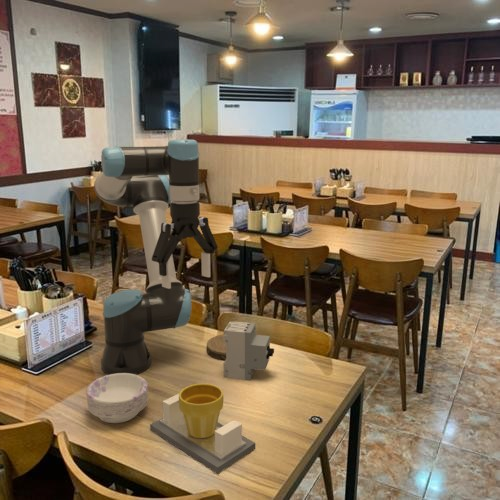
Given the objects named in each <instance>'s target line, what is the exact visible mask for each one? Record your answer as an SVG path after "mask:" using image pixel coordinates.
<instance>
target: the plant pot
mask: <svg viewBox="0 0 500 500" xmlns="http://www.w3.org/2000/svg"><path fill="white" fill-rule="evenodd" d="M178 394H179V408H180V410H181V412H182V413H183V415H184V419H185V423H186V426H187V430H188V433H189V434H190V435H191V436H192V437H195V438H207V437H210V436H212V435H213V434H214V433H215V431H216V427H217V422H218V423H219V417H220V412H221V410H222V409H223V408H224V391H223V390H222V388H221V387H219V386H217V385H215V384H212V383H194V384H189V385H188V386H186V387H184V388H182V389H181V390H180V392H179V393H178Z"/></svg>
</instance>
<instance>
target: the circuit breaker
mask: <svg viewBox="0 0 500 500" xmlns="http://www.w3.org/2000/svg"><path fill="white" fill-rule="evenodd" d="M223 334H224V335H223V344H226V360H225V361H223V365H222V366H223V367H222V368H223V378H224V379H225V378H227V379H231V380H232V379H234V380H243V381H251V380H252V378H253V375H254V373H255V371H256V370H262V371H265V370H267V368H268V367H267V366H268V364H269V362H270V360H271V359H270V357H273V355H274V354H275V353H274V352H275V348H271V345H270V344H271V337H270V335H261V334H257V331H256V322H245V321H244V322H243V321H229V322H228V324H227V325H226V327H225V328H224V330H223Z"/></svg>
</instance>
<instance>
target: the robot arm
mask: <svg viewBox="0 0 500 500" xmlns="http://www.w3.org/2000/svg"><path fill="white" fill-rule="evenodd" d="M100 157H101V159H100V160H101V168H102V169H101V170H102V171H101V172H100V173H99V174H97V176H96V178H95V180H94V185H93V187H94V188H93V189H94V192H95V194H96V196H97V197H98V198H99V199H100V200H101V201H103V202H104V203H106V204H108V205H111V206H115V207H120V208H121V207H122V208H124V207H132V210H133V213H134V214H136V215H137V216H138V219H139V224H140V230H141V236H142V237H141V238H142V245H143V250H144V255H145V263H146V269H147V274H148V281H149V284H148V286H147V287H146V288H145V293H144V294H143V293H142V291H141V290H139V289H135V288H134V289H125V290H124V289H123V290H119V291H116V292H113V293H111V294H110V295H108V296H107V297H105V299H104V300H103V305H102V306H103V307H102V308H103V309H102V311H103V312H102V316H103V323H104V324H103V325H104V341H105V345H104V349H103V353H102V356H101V359H100V360H101V361H100V367H101V371H102V372H103V373H104V374H106V375H110V374H116V373H130V374H135V375H138V374H141V373H144V371H146V370H148V369H149V368H150V367H151V365H152V358H151V357H152V356H151V353H150V351H149V348H148V347H147V344H146V341H145V333H147V332H149V333H150V332H155V331H163V330H168V329H176V328H180V327H185V326H186V325H188V323H189V322H190V318H191V315H192V295H191V292H190V290H189V289H188V288H184V287H183V282H182V281H180V280H179V279H177V275H176V268H175V263H174V257H173V253H174V251H175V249H176V248H177V246H178V244H179V243H180V242H181V241H182V240H183V239H187V238H193V239H194V240H195V242H196V243H197V244H198V245H199V247H200V248H201V249H202V252H201V253H200V255H201V259H200V260H201V261H200V262H201V277H205V278H211V264H212V261H213V260H212V257H213V256H212V255H213V254H214V253H215V252H216V250H218V244H217V241H216V240H215V236H214V235H213V232H212V230H211V228H210V225H209V224H210V223H209V218H208V217H205V216H201V212H200V211H201V209H200V207H201V206H200V202H199V200H200V165H199V164H200V158H199V157H200V152H199V142H198V141H197V140H195V139H187V138H186V139H184V138H183V139H177V138H176V139H170V140H169V141H168V143H167V145H164V146H163V145H162V146H158V145H157V146H117V145H115V146H112V147H111V146H108V147H104V148H103V149H102V150H101V155H100ZM168 208H169V214H170V217H171V223H168V222H167V217H166V211H167V210H168Z"/></svg>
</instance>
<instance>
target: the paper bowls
mask: <svg viewBox="0 0 500 500" xmlns="http://www.w3.org/2000/svg"><path fill="white" fill-rule="evenodd" d="M148 387H149V385H148V381H147V380H146V379H145V378H144V377H142V376H140V375H138V374H130V373H116V374H110V375H108V374H106V375H103V376H101V377H99V378H97V379H95V380H94V381H92V382H91V383H89V385H88V387H87V390H86V399H87V402H86V403H87V409H88V411H89V413H90V414H92V415H93V416H94V417H96V418H99V419H100V420H101V421H103V422H105V423H108V424H109V423H110V424H120V423H125V422H128V421H130V420H132V419H134V418H135V417H136V416H137V415H138V414H139V413H140V411H142V410H144V409H145V407H146V406H147V404H148V402H149V388H148Z"/></svg>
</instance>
